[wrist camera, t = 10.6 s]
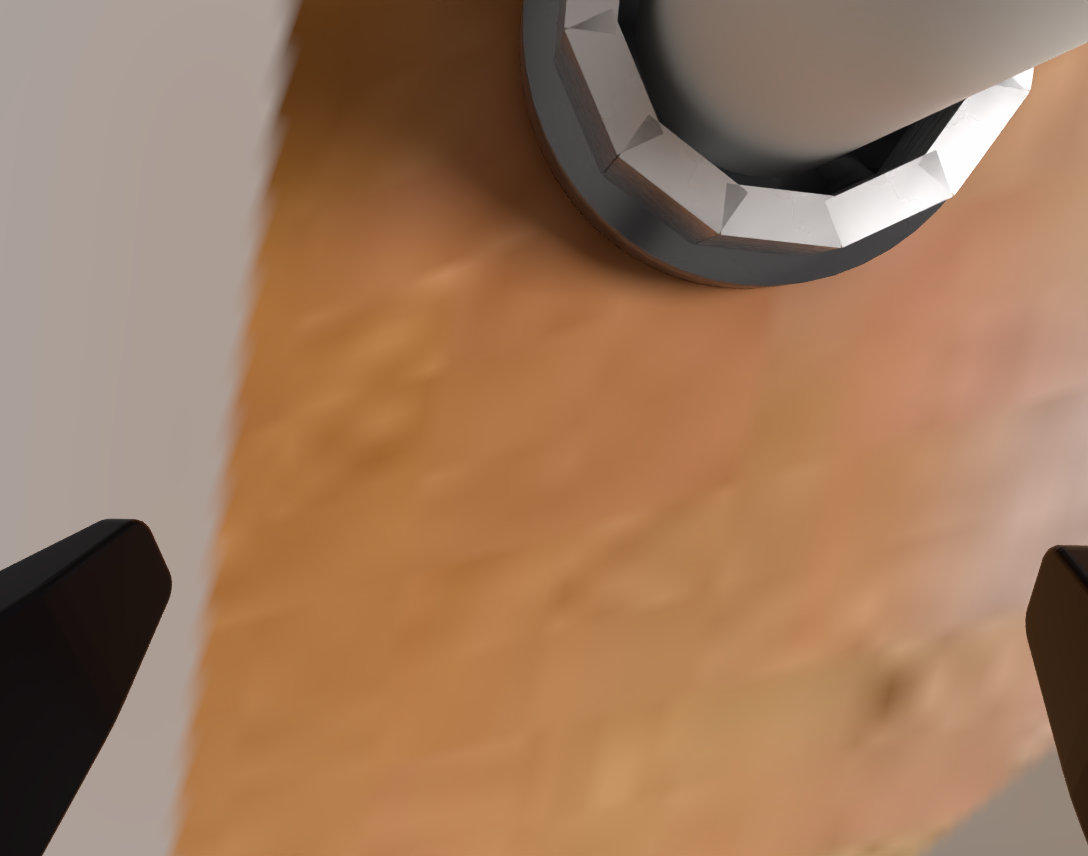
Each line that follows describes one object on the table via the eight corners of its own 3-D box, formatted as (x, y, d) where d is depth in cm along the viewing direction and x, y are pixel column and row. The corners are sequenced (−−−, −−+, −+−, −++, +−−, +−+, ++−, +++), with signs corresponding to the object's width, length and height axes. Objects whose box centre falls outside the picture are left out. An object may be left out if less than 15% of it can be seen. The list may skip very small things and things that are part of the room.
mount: (934, 309, 20) (1029, 305, 17) (499, 264, 19) (504, 250, 16) (1005, -160, 19) (1125, -269, 15) (542, -237, 18) (559, -374, 14)
